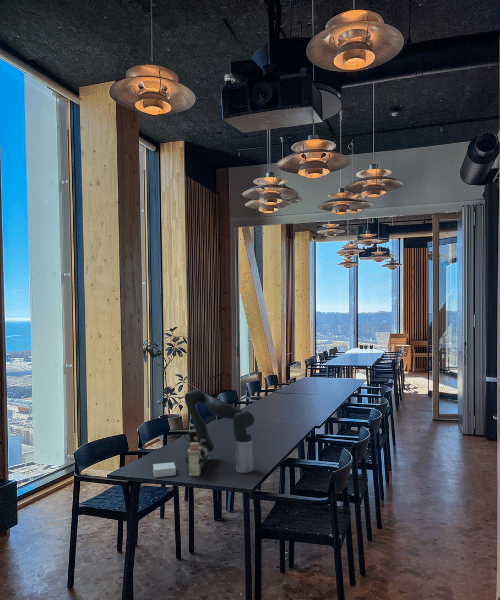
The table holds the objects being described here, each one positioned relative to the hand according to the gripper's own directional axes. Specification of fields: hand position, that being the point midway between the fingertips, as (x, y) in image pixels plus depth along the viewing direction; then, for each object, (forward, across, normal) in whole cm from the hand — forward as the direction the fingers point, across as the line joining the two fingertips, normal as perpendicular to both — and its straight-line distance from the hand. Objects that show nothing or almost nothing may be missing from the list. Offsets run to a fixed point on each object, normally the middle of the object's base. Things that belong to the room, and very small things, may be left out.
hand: (193, 462), depth 276 cm
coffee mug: (-70, -16, +8) cm, 72 cm away
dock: (-5, -18, +7) cm, 20 cm away
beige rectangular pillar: (-3, 0, +7) cm, 8 cm away
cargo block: (-3, 0, -7) cm, 7 cm away
